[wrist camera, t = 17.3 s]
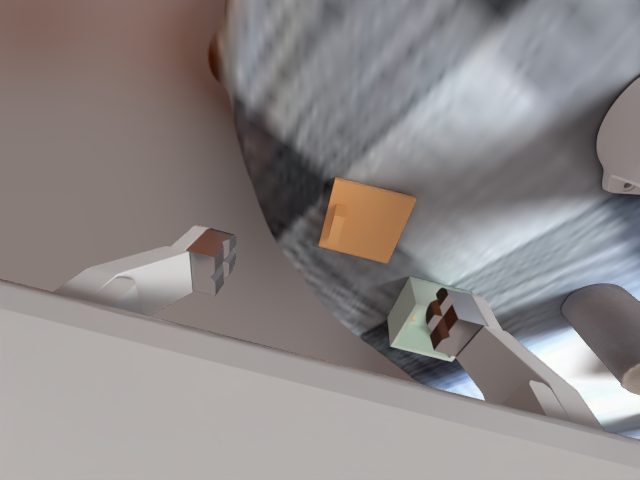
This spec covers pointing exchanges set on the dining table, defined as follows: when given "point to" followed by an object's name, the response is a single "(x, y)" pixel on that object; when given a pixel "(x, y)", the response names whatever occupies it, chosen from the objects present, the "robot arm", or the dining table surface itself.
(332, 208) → the lid
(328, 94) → the dining table surface
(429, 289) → the tub
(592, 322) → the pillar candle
